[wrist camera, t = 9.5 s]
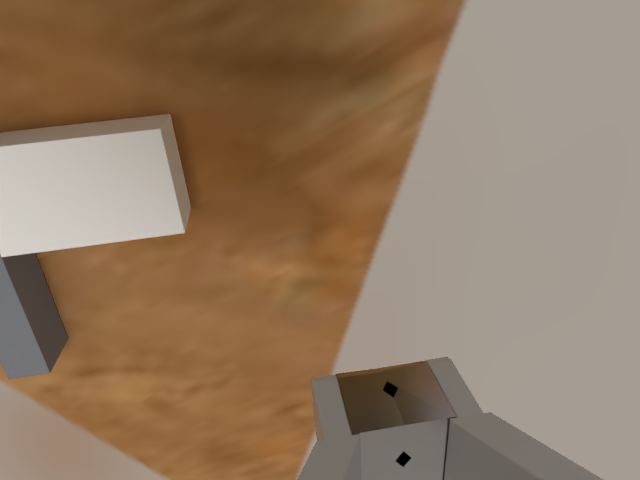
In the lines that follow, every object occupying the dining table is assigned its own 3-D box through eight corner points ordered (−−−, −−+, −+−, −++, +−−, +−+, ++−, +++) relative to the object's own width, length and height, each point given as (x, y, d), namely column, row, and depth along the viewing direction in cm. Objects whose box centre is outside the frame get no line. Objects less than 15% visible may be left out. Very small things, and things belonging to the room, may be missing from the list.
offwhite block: (-8, 132, 27) (-45, 151, 24) (170, 112, 28) (160, 128, 24) (30, 227, 30) (1, 257, 26) (191, 206, 31) (184, 233, 27)
